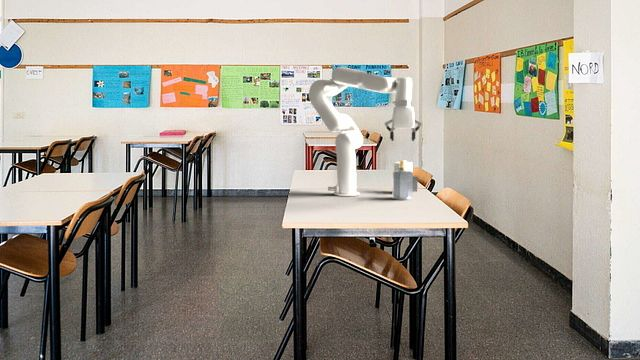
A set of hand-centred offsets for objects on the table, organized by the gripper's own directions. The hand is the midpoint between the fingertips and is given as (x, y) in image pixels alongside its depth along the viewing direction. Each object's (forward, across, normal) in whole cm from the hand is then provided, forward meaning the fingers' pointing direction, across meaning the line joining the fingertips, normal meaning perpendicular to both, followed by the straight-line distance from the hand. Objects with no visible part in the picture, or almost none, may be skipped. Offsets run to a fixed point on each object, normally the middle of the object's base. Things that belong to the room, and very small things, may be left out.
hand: (402, 140), depth 296 cm
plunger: (+25, 0, 0) cm, 25 cm away
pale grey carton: (+28, +2, 0) cm, 28 cm away
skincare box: (+28, +3, +20) cm, 34 cm away
